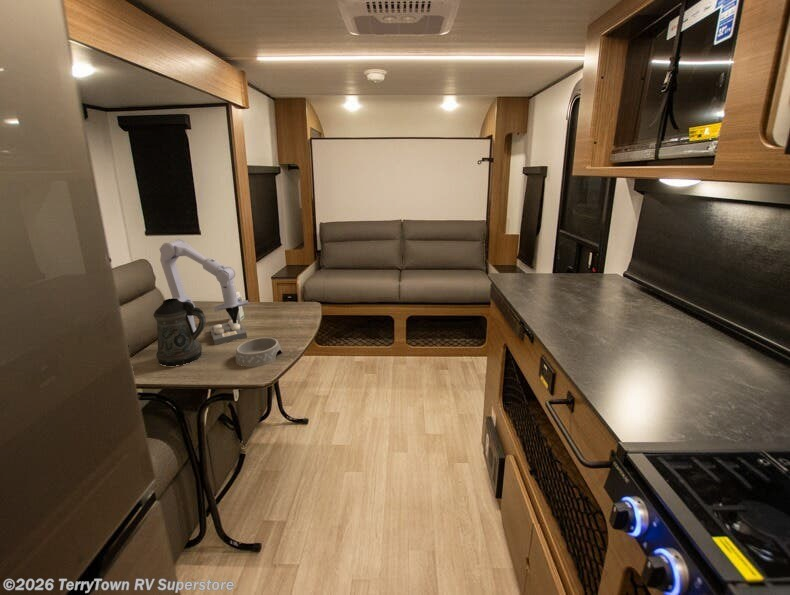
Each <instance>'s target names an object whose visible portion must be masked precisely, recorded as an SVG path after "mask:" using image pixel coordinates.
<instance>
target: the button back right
mask: <svg viewBox="0 0 790 595" xmlns="http://www.w3.org/2000/svg"><path fill="white" fill-rule="evenodd" d="M227 323H229V327H231V325H233V321H232V320H228V322H227ZM235 324H238V322H237V323H235Z"/></svg>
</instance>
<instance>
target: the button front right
mask: <svg viewBox="0 0 790 595" xmlns="http://www.w3.org/2000/svg"><path fill="white" fill-rule="evenodd" d="M237 330H241V328H240V324H233V325H231V331H237Z"/></svg>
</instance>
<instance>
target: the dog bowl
mask: <svg viewBox="0 0 790 595" xmlns="http://www.w3.org/2000/svg"><path fill="white" fill-rule="evenodd" d="M279 351H280V352H281V353H282V354H283V350H282V348H281V345H280V343H279V341H278V340H277V339H276V338H273V337H267V336H266V337H264V336H263V337H257V338H253V339H248V340H246V341H243V342H242V343H240V344H239V345H238V346H237V347H236V350H235V364H237V365H238V364H239V366H240V365H242V366H241V367H243V366H246V367H245V368H257V367H263V366H266V365H269V364H272V363H274V362H276V357H277V354H278V352H279Z"/></svg>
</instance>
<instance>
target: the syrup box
mask: <svg viewBox="0 0 790 595" xmlns="http://www.w3.org/2000/svg"><path fill="white" fill-rule="evenodd" d="M236 295H237V300H238V301H243V300H242V296H241V291H240V290H236ZM244 312H245V311H244V306H240V307H239V311H238V315H237V321H238V320H239V321H240V322H241V321H242V320H244V319H245V318H246V317H245V313H244ZM227 314H228V313H227ZM233 316H234V315H233ZM230 320H232V319H231V317H230V315H229V314H228V321H230Z"/></svg>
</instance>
